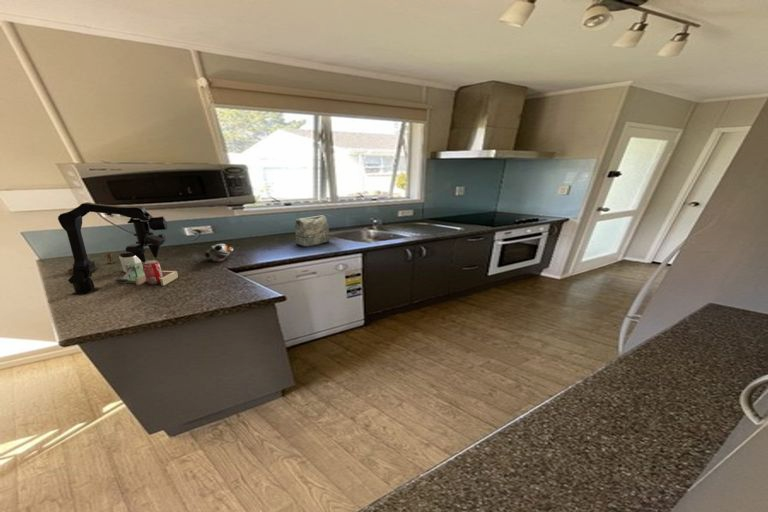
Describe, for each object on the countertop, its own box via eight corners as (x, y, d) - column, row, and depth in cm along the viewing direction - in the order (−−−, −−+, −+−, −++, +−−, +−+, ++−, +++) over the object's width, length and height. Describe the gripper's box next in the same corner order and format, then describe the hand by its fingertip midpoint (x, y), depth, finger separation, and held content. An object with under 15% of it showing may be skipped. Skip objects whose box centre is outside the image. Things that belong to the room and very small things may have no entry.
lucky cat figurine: (227, 254, 200) (232, 238, 195) (230, 265, 193) (236, 249, 188) (202, 252, 190) (207, 236, 184) (205, 264, 183) (211, 247, 177)
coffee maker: (137, 283, 153) (133, 267, 150) (118, 282, 153) (114, 267, 150) (154, 274, 165) (150, 260, 162) (137, 274, 164) (133, 260, 162)
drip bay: (163, 285, 150) (162, 278, 149) (136, 285, 150) (134, 278, 149) (178, 277, 161) (176, 271, 160) (152, 277, 161) (150, 270, 160)
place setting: (69, 269, 170) (66, 260, 168) (114, 261, 183) (111, 253, 182) (68, 277, 158) (64, 267, 156) (116, 269, 172) (113, 259, 170)
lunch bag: (321, 238, 248) (320, 213, 241) (332, 242, 236) (331, 216, 229) (293, 243, 231) (290, 216, 225) (304, 248, 219) (301, 220, 212)
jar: (122, 274, 164) (116, 254, 161) (124, 269, 171) (119, 250, 167) (142, 271, 169) (137, 251, 165) (143, 267, 176) (139, 248, 172)
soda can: (161, 278, 159) (156, 258, 155) (165, 282, 155) (160, 261, 151) (145, 282, 154) (140, 261, 150) (149, 286, 149) (143, 264, 146)
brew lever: (127, 283, 150) (124, 280, 148) (117, 282, 150) (114, 279, 148) (141, 266, 158) (139, 263, 157) (132, 266, 158) (129, 263, 157)
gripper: (143, 235, 136) (151, 266, 141) (171, 227, 154) (177, 254, 159) (120, 235, 136) (129, 266, 141) (150, 226, 154) (157, 254, 159)
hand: (150, 259), depth 150 cm, fingers open, 8 cm apart
